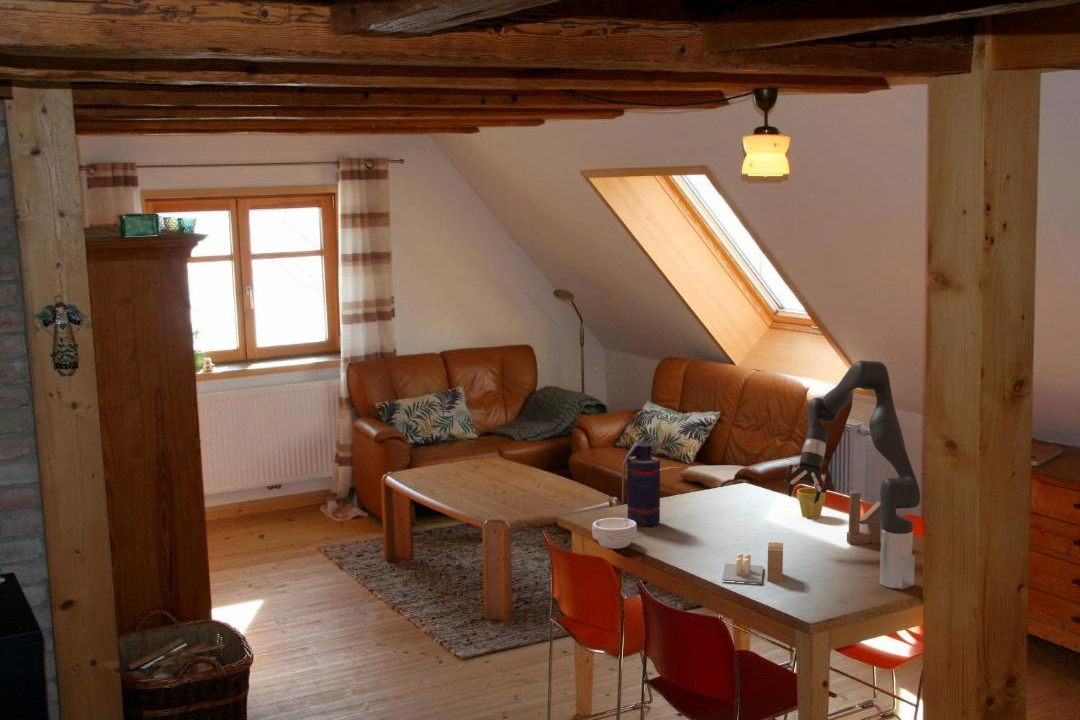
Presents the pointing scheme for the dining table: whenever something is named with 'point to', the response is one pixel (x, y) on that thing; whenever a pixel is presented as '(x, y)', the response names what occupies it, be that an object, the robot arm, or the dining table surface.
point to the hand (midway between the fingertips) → (802, 499)
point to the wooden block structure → (863, 522)
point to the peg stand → (743, 571)
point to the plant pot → (810, 502)
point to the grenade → (642, 485)
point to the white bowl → (614, 532)
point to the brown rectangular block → (775, 562)
